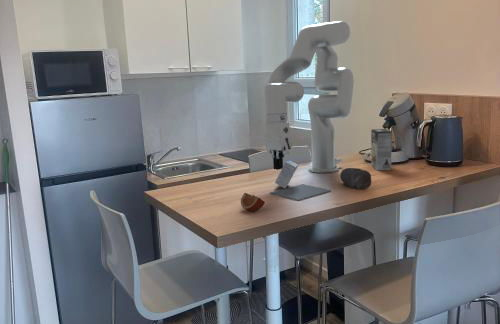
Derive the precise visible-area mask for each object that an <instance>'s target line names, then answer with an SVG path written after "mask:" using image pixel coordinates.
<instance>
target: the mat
mask: <svg viewBox="0 0 500 324" xmlns="http://www.w3.org/2000/svg"><path fill="white" fill-rule="evenodd" d="M330 192H332V190H331V189H328V188H324V187H319V186H315V185H310V184H305V183H301V184H297V185H294V186H293V185H292V186H290V187H286V188H282V189H278V190H274V191H270V192H269V193H270V194H269V195H274V196H277V197H282V198H285V199H290V200H293V201H297V202H300V201H303V200H306V199H307V200H308V199H310V198H313V197H317V196H321V195H323V194H327V193H330Z"/></svg>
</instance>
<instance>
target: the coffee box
mask: <svg viewBox="0 0 500 324" xmlns="http://www.w3.org/2000/svg"><path fill="white" fill-rule="evenodd" d="M370 135H371V136H370V137H371V139H370V140H371V142H370V143H371V146H370V148H371V150H370V153H371V158H370V159H371V160H370V161H371V163H370V165H371V167H372V168H373V169H375V170H376V171H387V170H388V171H389V170H392V146H393V145H392V142H393V140H392V139H393V131H392V130H389V129H387V128H376V129H374V128H373V129H371V134H370Z"/></svg>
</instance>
